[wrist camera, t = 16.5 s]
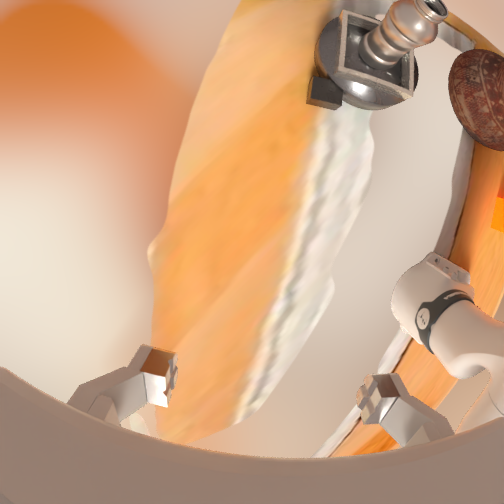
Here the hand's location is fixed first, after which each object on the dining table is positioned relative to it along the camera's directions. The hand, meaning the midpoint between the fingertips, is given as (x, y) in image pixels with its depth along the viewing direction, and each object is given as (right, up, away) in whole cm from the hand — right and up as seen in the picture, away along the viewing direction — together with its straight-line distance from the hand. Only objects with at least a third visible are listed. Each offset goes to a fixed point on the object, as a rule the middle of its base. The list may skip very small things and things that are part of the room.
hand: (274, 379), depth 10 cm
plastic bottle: (+19, +37, +21) cm, 46 cm away
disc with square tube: (+19, +38, +26) cm, 50 cm away
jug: (+46, +37, +26) cm, 64 cm away
